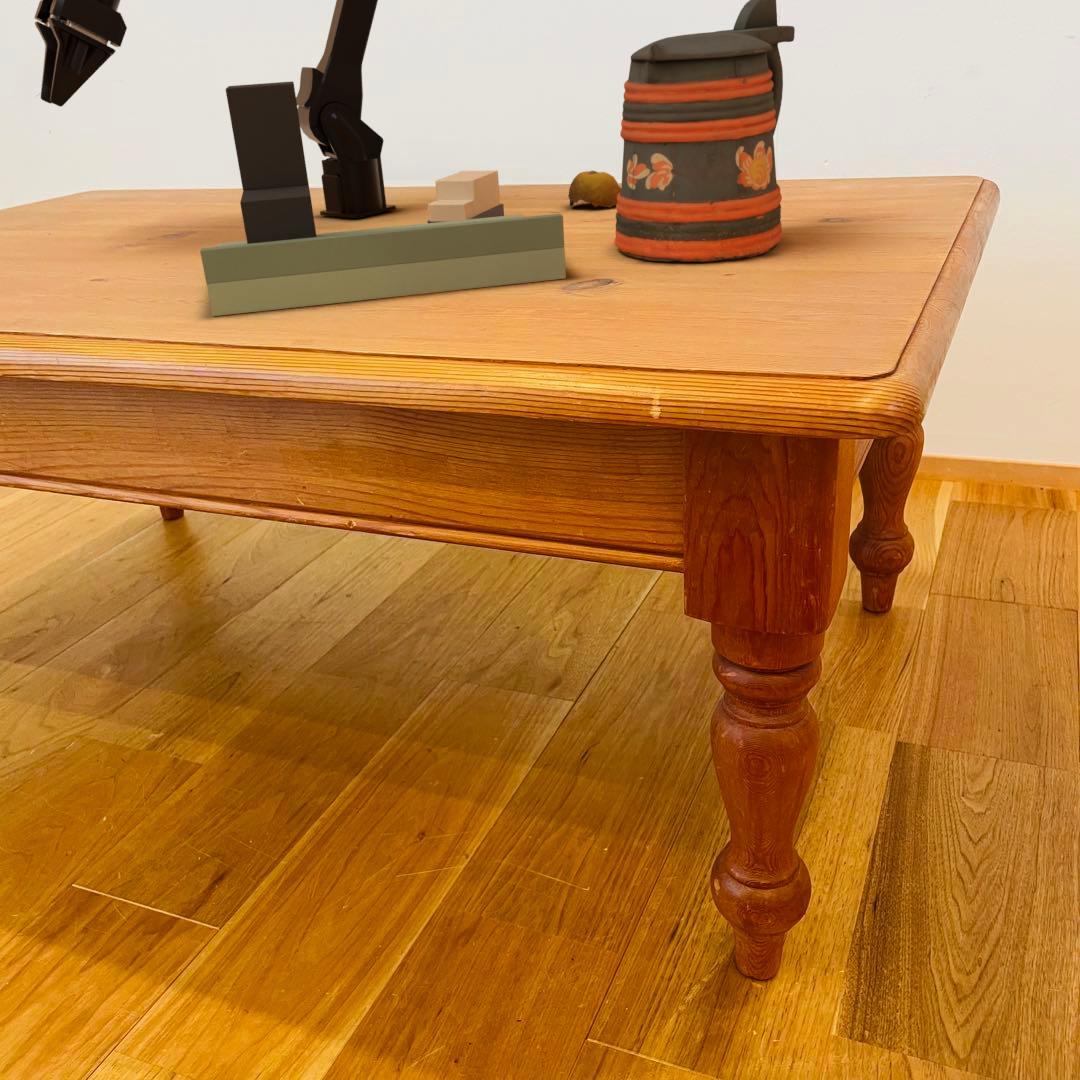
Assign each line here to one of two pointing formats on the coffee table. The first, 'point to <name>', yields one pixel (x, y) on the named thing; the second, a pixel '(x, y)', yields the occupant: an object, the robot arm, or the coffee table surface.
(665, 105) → the beer stein
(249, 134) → the dark notched upright block
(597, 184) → the fruit
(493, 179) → the stepped wooden block stack
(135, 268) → the coffee table surface
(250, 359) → the coffee table surface
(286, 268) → the olive green plank
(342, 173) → the robot arm
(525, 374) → the coffee table surface
